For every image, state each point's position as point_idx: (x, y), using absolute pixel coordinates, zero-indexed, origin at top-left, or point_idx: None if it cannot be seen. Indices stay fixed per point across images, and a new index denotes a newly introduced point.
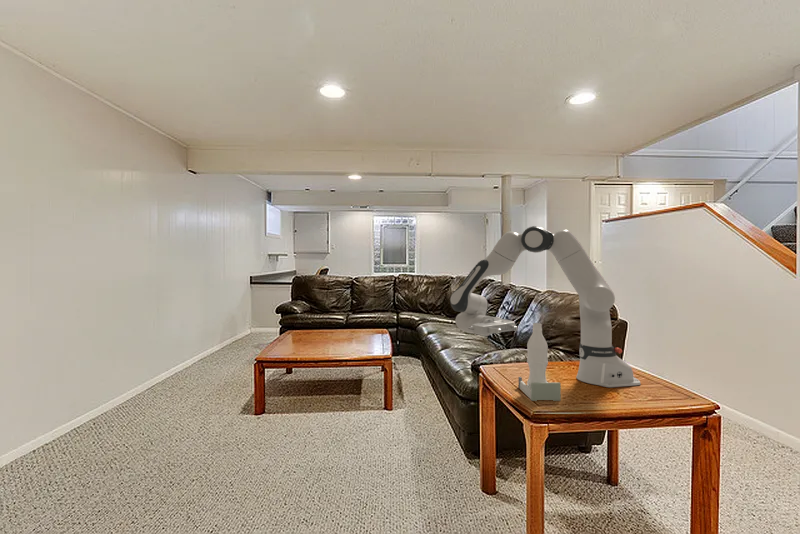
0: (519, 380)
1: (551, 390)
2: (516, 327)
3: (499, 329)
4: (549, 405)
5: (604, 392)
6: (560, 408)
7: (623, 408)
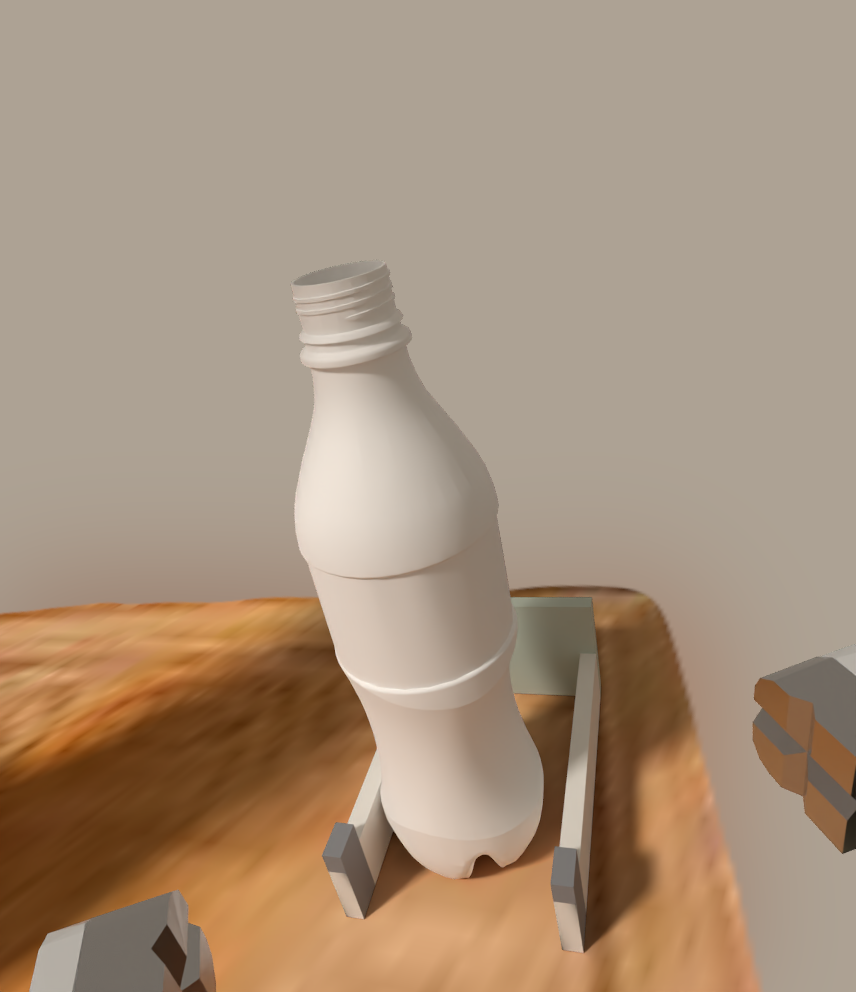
0: (578, 877)
1: None
2: (105, 918)
3: (802, 664)
4: None
5: (76, 763)
6: None
7: (233, 604)
